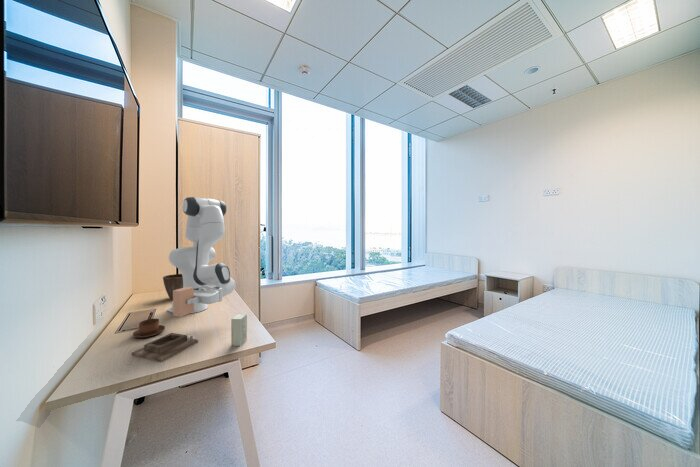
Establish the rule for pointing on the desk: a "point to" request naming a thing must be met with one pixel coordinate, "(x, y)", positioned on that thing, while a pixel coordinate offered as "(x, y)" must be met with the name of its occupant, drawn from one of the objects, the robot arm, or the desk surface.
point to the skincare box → (238, 329)
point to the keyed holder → (165, 347)
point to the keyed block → (182, 301)
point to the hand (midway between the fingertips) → (181, 301)
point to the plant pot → (173, 283)
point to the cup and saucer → (148, 328)
